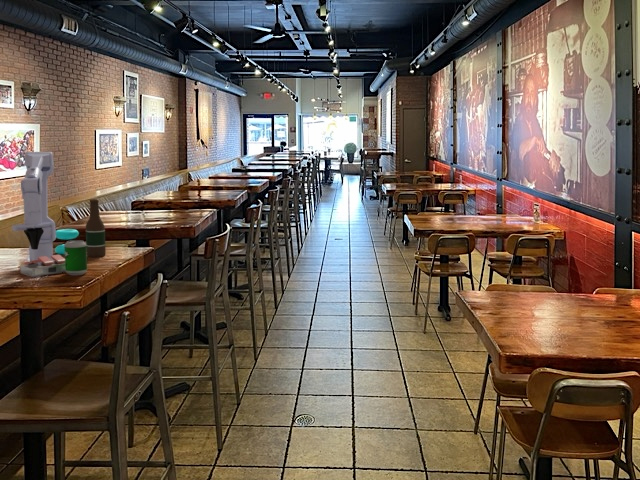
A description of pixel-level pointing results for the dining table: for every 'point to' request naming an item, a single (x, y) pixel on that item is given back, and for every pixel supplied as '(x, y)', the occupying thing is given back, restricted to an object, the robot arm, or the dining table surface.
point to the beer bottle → (95, 232)
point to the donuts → (65, 235)
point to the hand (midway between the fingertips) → (34, 249)
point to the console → (42, 269)
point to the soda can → (75, 257)
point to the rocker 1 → (32, 262)
